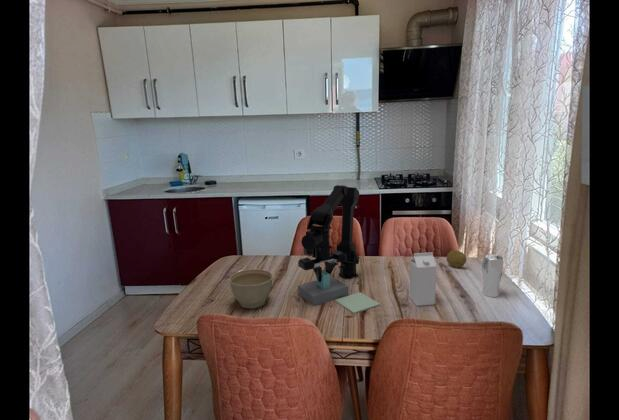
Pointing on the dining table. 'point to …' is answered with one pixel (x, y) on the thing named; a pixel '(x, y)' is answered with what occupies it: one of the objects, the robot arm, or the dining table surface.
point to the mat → (357, 302)
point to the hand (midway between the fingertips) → (323, 280)
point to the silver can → (492, 274)
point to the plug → (324, 280)
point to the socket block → (322, 292)
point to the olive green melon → (456, 258)
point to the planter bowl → (251, 287)
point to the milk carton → (423, 279)
